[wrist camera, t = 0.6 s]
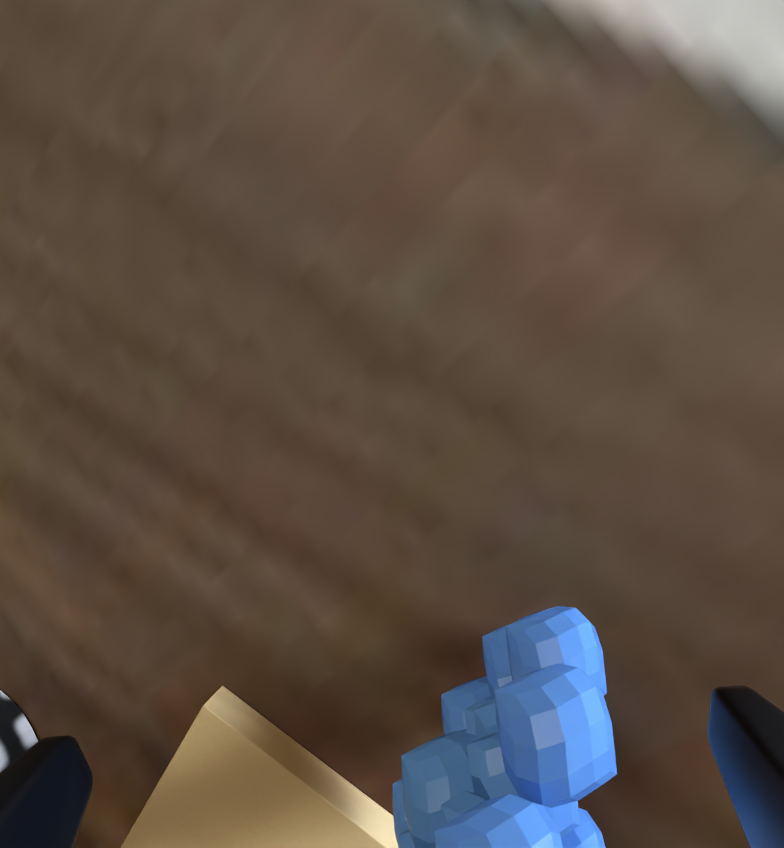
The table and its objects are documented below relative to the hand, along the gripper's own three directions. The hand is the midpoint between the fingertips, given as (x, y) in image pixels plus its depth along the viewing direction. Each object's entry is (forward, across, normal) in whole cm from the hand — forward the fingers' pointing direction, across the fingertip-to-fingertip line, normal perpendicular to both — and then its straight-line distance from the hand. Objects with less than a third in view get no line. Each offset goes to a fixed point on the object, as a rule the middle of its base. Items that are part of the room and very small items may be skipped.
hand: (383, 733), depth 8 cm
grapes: (+10, -3, +12) cm, 16 cm away
